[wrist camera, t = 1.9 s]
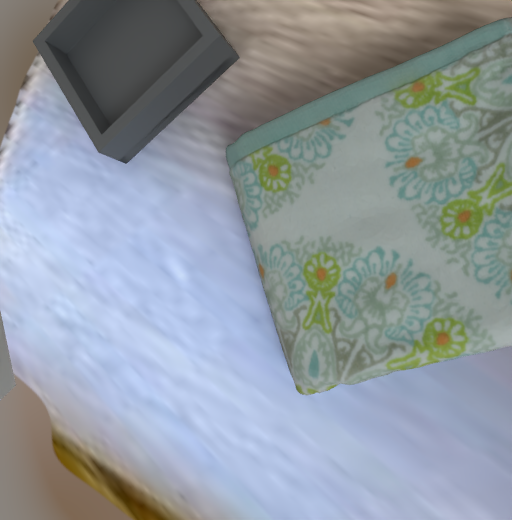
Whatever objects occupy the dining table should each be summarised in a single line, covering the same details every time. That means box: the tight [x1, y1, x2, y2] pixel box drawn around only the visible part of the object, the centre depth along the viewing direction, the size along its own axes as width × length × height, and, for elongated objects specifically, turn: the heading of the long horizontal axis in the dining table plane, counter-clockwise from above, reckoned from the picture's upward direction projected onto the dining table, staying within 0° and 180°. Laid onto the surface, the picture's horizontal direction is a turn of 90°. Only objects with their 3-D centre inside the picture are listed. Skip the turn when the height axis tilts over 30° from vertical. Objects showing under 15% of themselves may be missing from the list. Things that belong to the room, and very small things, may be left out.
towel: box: [226, 17, 512, 395], centre depth 29 cm, size 18×21×5 cm
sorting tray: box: [33, 0, 240, 163], centre depth 39 cm, size 13×13×4 cm
